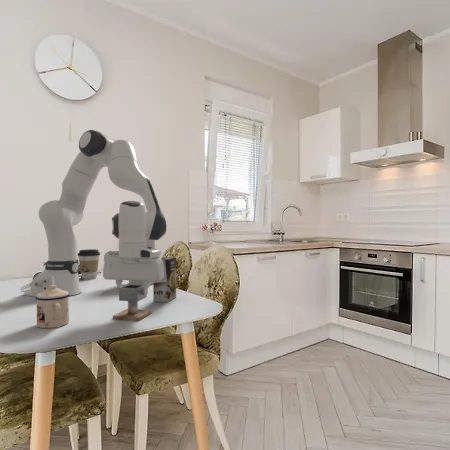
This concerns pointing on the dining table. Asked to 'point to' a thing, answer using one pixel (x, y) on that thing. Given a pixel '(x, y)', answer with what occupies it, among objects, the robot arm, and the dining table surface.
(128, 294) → the steel collar
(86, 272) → the coffee cup
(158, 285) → the coffee box
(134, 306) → the stand
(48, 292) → the teacup with lid
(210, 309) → the dining table surface
